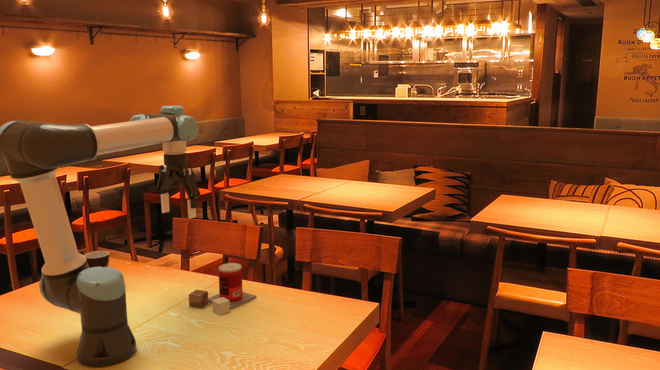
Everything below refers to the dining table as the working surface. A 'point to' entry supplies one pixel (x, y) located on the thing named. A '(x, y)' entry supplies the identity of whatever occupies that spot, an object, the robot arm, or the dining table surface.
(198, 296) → the walnut block
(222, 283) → the canned food
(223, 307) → the beige block
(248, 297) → the slate coaster
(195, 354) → the dining table surface
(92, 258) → the coffee mug
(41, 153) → the robot arm
